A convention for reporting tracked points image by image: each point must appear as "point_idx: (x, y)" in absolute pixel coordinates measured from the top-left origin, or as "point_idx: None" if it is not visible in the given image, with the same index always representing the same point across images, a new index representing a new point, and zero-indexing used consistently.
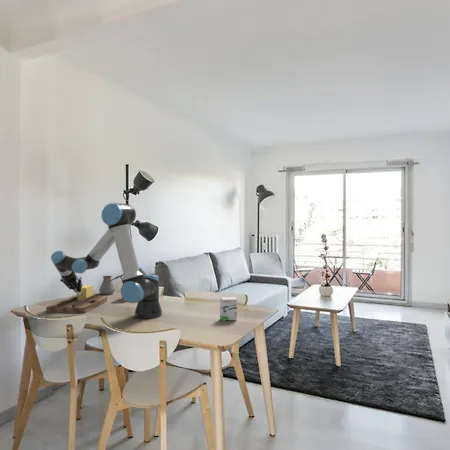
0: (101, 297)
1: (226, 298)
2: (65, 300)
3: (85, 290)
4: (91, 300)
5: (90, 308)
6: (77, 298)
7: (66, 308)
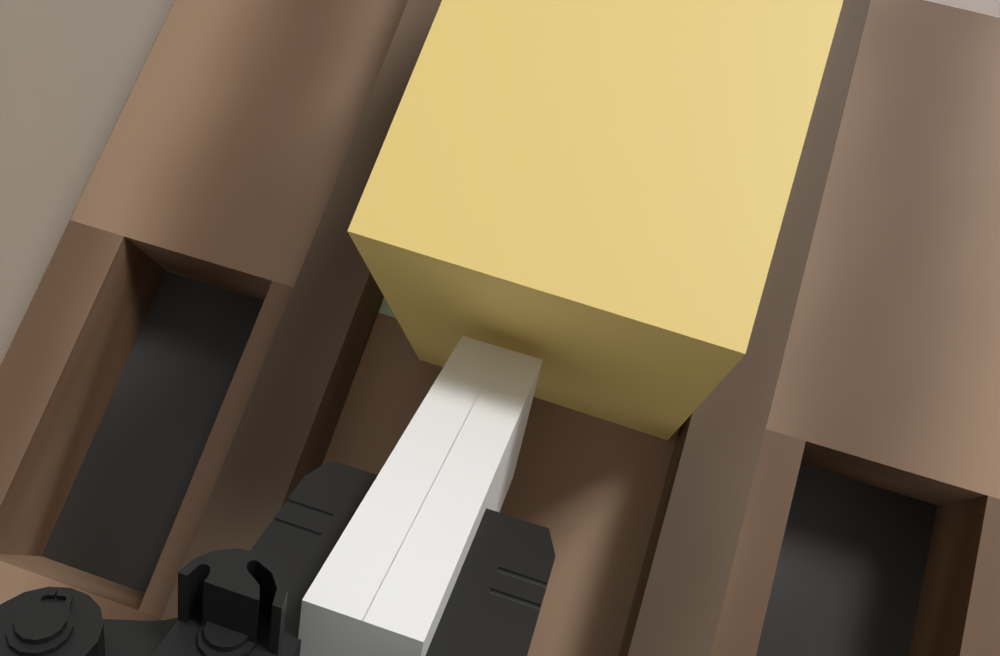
0: (993, 103)
1: None
2: (123, 253)
3: (688, 364)
4: (806, 442)
5: None
6: (417, 347)
7: None
